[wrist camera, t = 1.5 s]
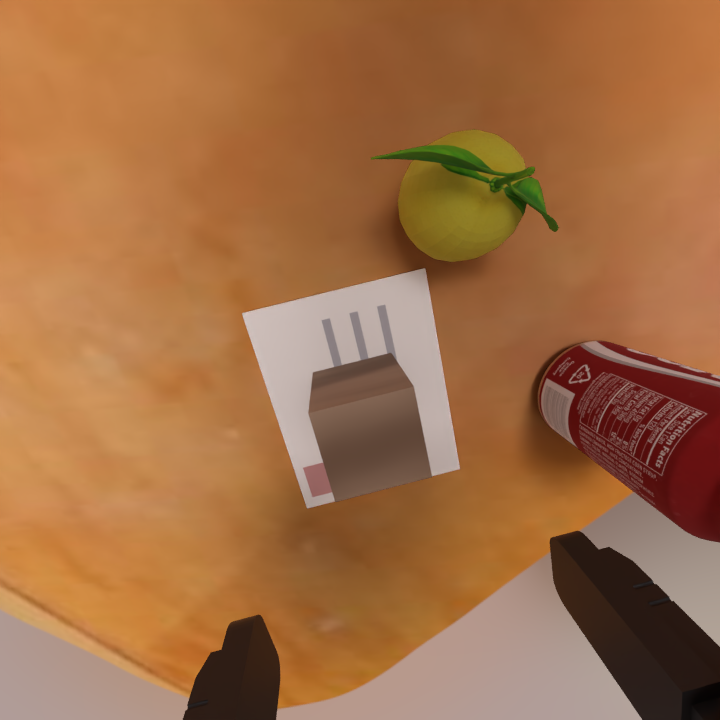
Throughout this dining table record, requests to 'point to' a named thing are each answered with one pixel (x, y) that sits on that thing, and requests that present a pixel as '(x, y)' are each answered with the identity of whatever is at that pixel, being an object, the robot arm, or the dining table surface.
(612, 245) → the dining table surface
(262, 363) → the letter
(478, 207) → the lemon
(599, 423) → the soda can
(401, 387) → the walnut block
